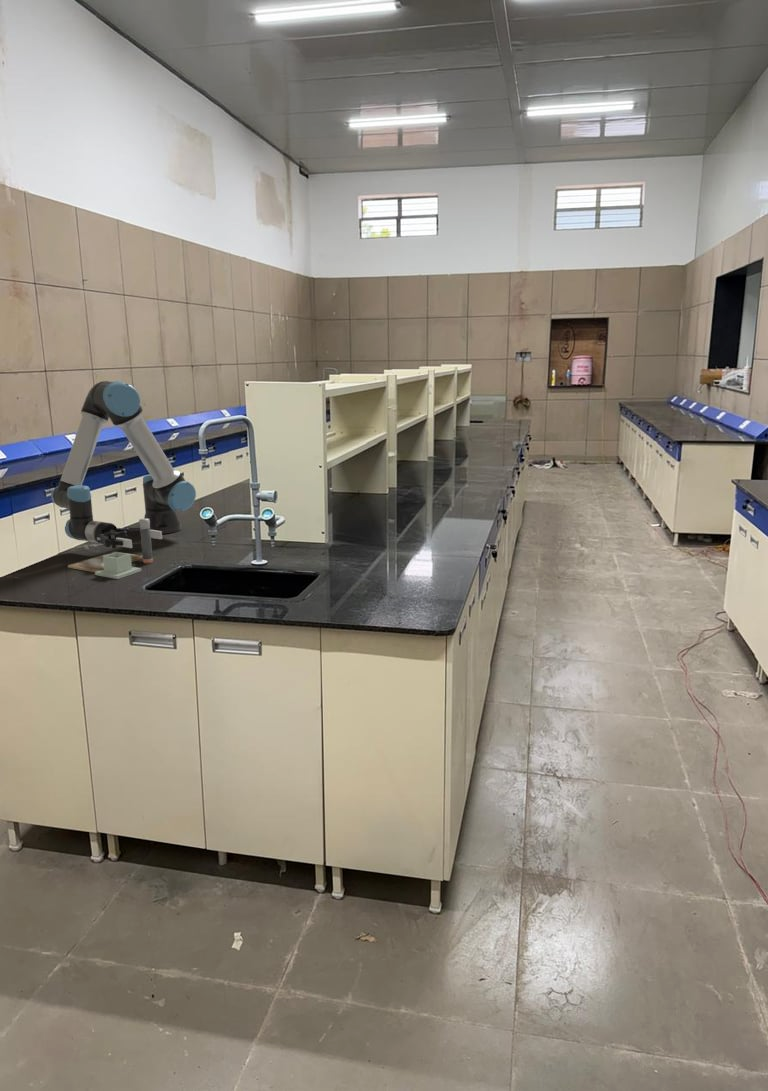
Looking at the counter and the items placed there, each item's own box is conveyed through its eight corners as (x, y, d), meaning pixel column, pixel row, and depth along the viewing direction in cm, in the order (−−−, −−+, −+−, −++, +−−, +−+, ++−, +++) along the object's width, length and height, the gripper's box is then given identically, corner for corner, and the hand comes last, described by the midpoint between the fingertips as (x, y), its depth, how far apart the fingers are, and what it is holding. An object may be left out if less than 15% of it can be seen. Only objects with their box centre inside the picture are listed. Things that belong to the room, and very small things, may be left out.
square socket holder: (119, 567, 245) (117, 549, 244) (141, 571, 241) (139, 553, 239) (95, 574, 236) (93, 557, 235) (117, 579, 232) (115, 560, 230)
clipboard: (114, 553, 262) (114, 549, 262) (143, 558, 256) (143, 554, 255) (68, 567, 245) (67, 563, 244) (97, 573, 239) (97, 568, 238)
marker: (147, 560, 253) (144, 518, 249) (155, 561, 252) (151, 518, 248) (140, 562, 250) (137, 519, 247) (147, 564, 249) (144, 520, 245)
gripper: (130, 535, 269) (173, 542, 260) (73, 551, 248) (118, 559, 238) (128, 515, 267) (172, 521, 258) (71, 529, 246) (116, 536, 236)
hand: (146, 539), depth 248 cm, fingers open, 13 cm apart
